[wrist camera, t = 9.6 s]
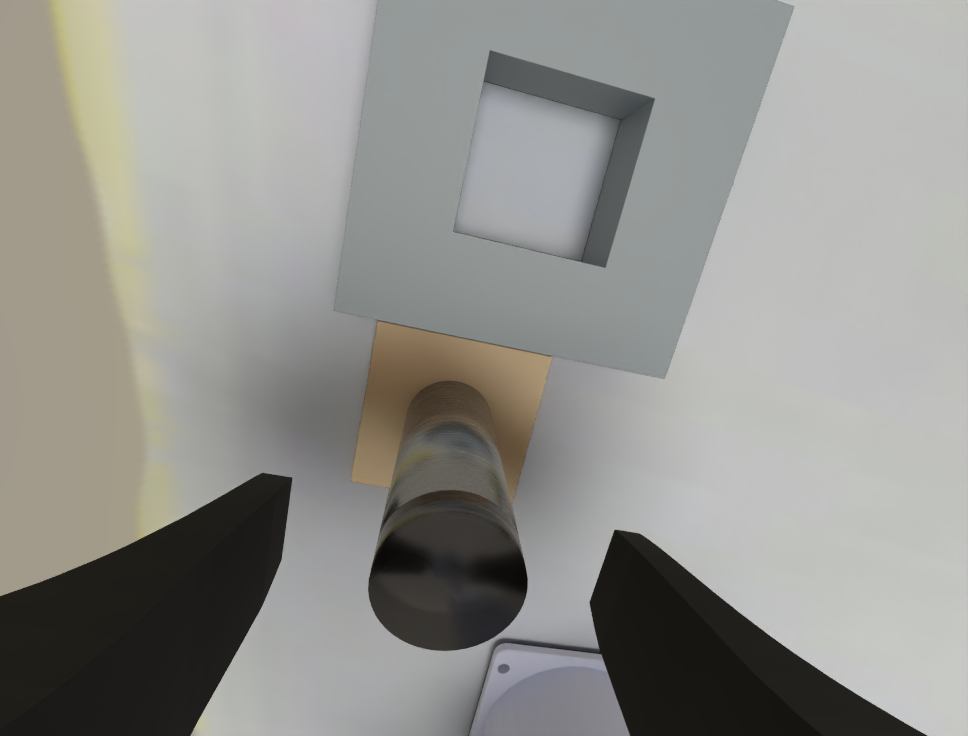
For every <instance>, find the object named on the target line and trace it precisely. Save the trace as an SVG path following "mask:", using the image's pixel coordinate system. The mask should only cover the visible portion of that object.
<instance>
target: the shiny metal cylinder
mask: <svg viewBox="0 0 968 736" xmlns="http://www.w3.org/2000/svg"><path fill="white" fill-rule="evenodd" d="M527 581H528V579H527V572H526V567H525V563H524V558H523V554H522V549H521V545H520V540H519V536H518V531H517V527H516V522H515V518H514V514H513V509H512V505H511V500H510V496H509V491H508V487H507V482H506V478H505V473H504V469H503V465H502V460H501V456H500V451H499V447H498V442H497V438H496V433H495V429H494V425H493V420H492V416H491V411H490V408H489V405H488V403H487V401H486V400H485V398H484V397H483V396H482V395H481V393H479V392H478V391H477V390H476V389H474V388H473V387H471V386H469V385H467V384H465V383H462V382H457V381H441V382H437V383H433V384H431V385H429V386H427V387H425V388H424V389H422V390H421V391H420V392H419V393H418V394H417V395H416V396H415V397H414V398H413V400H412V401H411V403H410V405H409V408H408V411H407V415H406V419H405V424H404V428H403V433H402V437H401V441H400V446H399V450H398V454H397V459H396V463H395V468H394V472H393V476H392V481H391V485H390V490H389V494H388V498H387V503H386V507H385V511H384V516H383V520H382V525H381V529H380V533H379V538H378V542H377V547H376V551H375V555H374V560H373V564H372V568H371V573H370V578H369V587H368V591H369V599H370V602H371V606H372V608H373V611H374V613H375V615H376V616H377V618H378V619H379V621H380V622H381V623H382V624H383V626H384V627H385V628H386V629H387V630H388V631H390V632H391V633H392V634H393V635H395V636H396V637H398V638H399V639H401V640H403V641H405V642H407V643H409V644H411V645H414V646H417V647H421V648H425V649H430V650H439V651H450V650H460V649H465V648H469V647H473V646H476V645H479V644H481V643H484V642H486V641H488V640H490V639H491V638H493V637H495V636H496V635H498V634H499V633H501V632H502V631H503V630H504V629H505V628H506V627H508V626H509V625H510V623H511V622H512V621H513V620H514V619H515V618H516V616H517V615H518V613H519V612H520V610H521V608H522V606H523V603H524V600H525V597H526V593H527Z"/></svg>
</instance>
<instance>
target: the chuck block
mask: <svg viewBox="0 0 968 736" xmlns="http://www.w3.org/2000/svg"><path fill="white" fill-rule="evenodd" d="M794 7H795V6H792V5H789V4H786V3H783V2H780V1H777V0H378V2H377V9H376V16H375V23H374V30H373V37H372V44H371V51H370V58H369V65H368V72H367V79H366V86H365V93H364V100H363V107H362V114H361V122H360V129H359V136H358V143H357V150H356V157H355V164H354V171H353V178H352V185H351V192H350V199H349V206H348V213H347V220H346V227H345V234H344V241H343V248H342V255H341V262H340V269H339V276H338V284H337V291H336V298H335V305H334V311H337V312H342V313H347V314H352V315H357V316H362V317H367V318H371V319H376V320H381V321H386V322H391V323H396V324H400V325H405V326H410V327H415V328H420V329H425V330H429V331H434V332H439V333H444V334H449V335H454V336H458V337H463V338H468V339H473V340H478V341H483V342H487V343H492V344H497V345H502V346H507V347H512V348H516V349H521V350H526V351H531V352H536V353H541V354H545V355H550V356H555V357H560V358H565V359H570V360H574V361H579V362H584V363H589V364H594V365H599V366H603V367H608V368H613V369H618V370H623V371H628V372H632V373H637V374H642V375H647V376H652V377H657V378H661V379H665V377H666V374H667V371H668V368H669V365H670V362H671V359H672V357H673V354H674V351H675V348H676V345H677V342H678V339H679V336H680V334H681V331H682V328H683V325H684V322H685V319H686V316H687V314H688V311H689V308H690V305H691V302H692V299H693V296H694V293H695V291H696V288H697V285H698V282H699V279H700V276H701V273H702V271H703V268H704V265H705V262H706V259H707V256H708V253H709V250H710V248H711V245H712V242H713V239H714V236H715V233H716V230H717V227H718V225H719V222H720V219H721V216H722V213H723V210H724V207H725V205H726V202H727V199H728V196H729V193H730V190H731V187H732V184H733V182H734V179H735V176H736V173H737V170H738V167H739V164H740V162H741V159H742V156H743V153H744V150H745V147H746V144H747V141H748V139H749V136H750V133H751V130H752V127H753V124H754V121H755V118H756V116H757V113H758V110H759V107H760V104H761V101H762V98H763V96H764V93H765V90H766V87H767V84H768V81H769V78H770V75H771V73H772V70H773V67H774V64H775V61H776V58H777V55H778V53H779V50H780V47H781V44H782V41H783V38H784V35H785V32H786V30H787V27H788V24H789V21H790V18H791V15H792V12H793V9H794ZM483 81H486V82H490V83H493V84H497V85H500V86H504V87H507V88H511V89H514V90H518V91H522V92H525V93H529V94H532V95H536V96H539V97H543V98H546V99H550V100H553V101H557V102H560V103H564V104H568V105H571V106H575V107H578V108H582V109H585V110H589V111H592V112H596V113H599V114H603V115H607V116H610V117H614V118H617V119H621V122H620V126H619V129H618V133H617V136H616V140H615V144H614V147H613V151H612V154H611V158H610V162H609V165H608V169H607V172H606V176H605V179H604V183H603V187H602V190H601V194H600V197H599V201H598V205H597V208H596V212H595V215H594V219H593V223H592V226H591V230H590V233H589V237H588V241H587V244H586V248H585V251H584V255H583V259H582V262H580V261H576V260H572V259H568V258H563V257H559V256H555V255H551V254H546V253H542V252H538V251H534V250H530V249H525V248H521V247H517V246H513V245H508V244H504V243H500V242H496V241H491V240H487V239H483V238H479V237H475V236H470V235H466V234H462V233H458V232H453V229H454V224H455V219H456V214H457V209H458V204H459V200H460V195H461V190H462V185H463V180H464V175H465V170H466V165H467V160H468V155H469V150H470V145H471V140H472V135H473V130H474V125H475V120H476V115H477V111H478V106H479V101H480V96H481V91H482V86H483Z"/></svg>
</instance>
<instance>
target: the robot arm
mask: <svg viewBox="0 0 968 736" xmlns="http://www.w3.org/2000/svg"><path fill="white" fill-rule="evenodd" d="M291 484H292V478H291V477H285V476H278V475H272V474H266V473H261V474H259V475H258V476H256V477H254V478H252V479H250V480H249V481H247V482H245V483H243V484H242V485H240V486H238V487H236V488H235V489H233V490H231V491H230V492H228V493H226V494H224V495H223V496H221V497H219V498H217V499H216V500H214V501H212V502H210V503H208V504H207V505H205V506H203V507H201V508H199V509H198V510H196V511H194V512H192V513H190V514H189V515H187V516H185V517H183V518H181V519H179V520H177V521H175V522H173V523H171V524H169V525H167V526H165V527H163V528H161V529H159V530H157V531H155V532H153V533H151V534H149V535H147V536H145V537H143V538H141V539H139V540H137V541H135V542H133V543H131V544H129V545H127V546H126V547H123V548H121V549H119V550H117V551H114V552H112V553H110V554H108V555H106V556H103V557H101V558H99V559H96V560H94V561H92V562H89V563H87V564H84V565H82V566H79V567H77V568H75V569H72V570H70V571H67V572H65V573H62V574H60V575H58V576H55V577H52V578H50V579H47V580H45V581H42V582H40V583H37V584H34V585H31V586H28V587H26V588H23V589H20V590H17V591H14V592H11V593H8V594H5V595H3V596H0V736H190V735H191V733H192V731H193V729H194V727H195V726H196V724H197V722H198V720H199V718H200V716H201V715H202V713H203V711H204V709H205V707H206V706H207V704H208V702H209V700H210V699H211V697H212V695H213V693H214V691H215V690H216V688H217V686H218V684H219V683H220V681H221V679H222V677H223V675H224V674H225V672H226V670H227V668H228V667H229V665H230V663H231V661H232V659H233V658H234V656H235V654H236V652H237V651H238V649H239V647H240V645H241V643H242V642H243V640H244V638H245V636H246V634H247V633H248V631H249V629H250V627H251V625H252V624H253V622H254V620H255V618H256V616H257V615H258V613H259V611H260V609H261V607H262V605H263V603H264V601H265V598H266V596H267V594H268V591H269V589H270V587H271V584H272V582H273V579H274V577H275V574H276V572H277V569H278V567H279V565H280V562H281V559H282V552H283V544H284V537H285V529H286V522H287V514H288V507H289V499H290V491H291ZM590 607H591V612H592V617H593V622H594V627H595V632H596V636H597V640H598V645H599V649H600V652H601V654H594V653H586V652H578V651H569V650H561V649H553V648H544V647H536V646H528V645H519V644H511V643H503V644H500V645H499V646H497V647H496V648H495V650H494V653H493V656H492V659H491V663H490V666H489V670H488V673H487V676H486V680H485V683H484V687H483V690H482V694H481V697H480V700H479V704H478V707H477V711H476V714H475V717H474V721H473V724H472V728H471V731H470V734H469V736H927V735H925V734H923V733H921V732H920V731H918V730H916V729H914V728H913V727H911V726H909V725H907V724H905V723H904V722H902V721H900V720H899V719H897V718H895V717H894V716H892V715H890V714H889V713H887V712H885V711H884V710H882V709H880V708H879V707H877V706H875V705H874V704H872V703H870V702H869V701H867V700H865V699H863V698H862V697H860V696H858V695H857V694H855V693H854V692H852V691H851V690H849V689H847V688H846V687H844V686H843V685H841V684H839V683H838V682H836V681H835V680H833V679H832V678H830V677H829V676H827V675H826V674H824V673H823V672H821V671H820V670H818V669H817V668H815V667H814V666H812V665H811V664H809V663H808V662H806V661H805V660H803V659H802V658H800V657H799V656H797V655H796V654H794V653H793V652H792V651H790V650H789V649H787V648H786V647H785V646H783V645H782V644H780V643H779V642H778V641H776V640H775V639H773V638H772V637H771V636H769V635H768V634H767V633H765V632H764V631H763V630H761V629H760V628H759V627H757V626H756V625H755V624H754V623H752V622H751V621H750V620H748V619H747V618H746V617H744V616H743V615H742V614H740V613H739V612H738V611H737V610H735V609H734V608H733V607H731V606H730V605H729V604H728V603H726V602H725V601H724V600H723V599H721V598H720V597H719V596H718V595H716V594H715V593H714V592H713V591H712V590H710V589H709V588H708V587H707V586H705V585H704V584H703V583H702V582H701V581H699V580H698V579H697V578H696V577H695V576H693V575H692V574H691V573H690V572H688V571H687V570H686V569H685V568H684V567H682V566H681V565H680V564H679V563H678V562H676V561H675V560H674V559H673V558H671V557H670V556H669V555H668V554H667V553H665V552H664V551H663V550H662V549H660V548H659V547H658V546H656V545H655V544H654V543H652V542H651V541H650V540H648V539H647V538H645V537H644V536H642V535H641V534H639V533H633V532H626V531H620V530H614V533H613V536H612V539H611V542H610V545H609V548H608V551H607V554H606V556H605V559H604V562H603V565H602V568H601V571H600V574H599V577H598V580H597V583H596V585H595V588H594V591H593V594H592V597H591V600H590ZM501 664H505V665H501Z"/></svg>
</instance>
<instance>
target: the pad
mask: <svg viewBox="0 0 968 736" xmlns="http://www.w3.org/2000/svg"><path fill="white" fill-rule="evenodd" d="M551 361H552V356H550V355H545V354H541V353H536V352H531V351H526V350H521V349H516V348H512V347H507V346H502V345H497V344H492V343H487V342H483V341H478V340H473V339H468V338H463V337H458V336H454V335H449V334H444V333H439V332H434V331H429V330H425V329H420V328H415V327H410V326H405V325H400V324H396V323H391V322H386V321H381V320H378V322H377V328H376V334H375V340H374V346H373V351H372V357H371V363H370V369H369V375H368V381H367V387H366V393H365V399H364V405H363V411H362V417H361V423H360V429H359V435H358V440H357V446H356V452H355V458H354V464H353V470H352V476H351V482H357V483H363V484H369V485H375V486H382V487H388V488H390V485H391V481H392V476H393V472H394V468H395V463H396V459H397V454H398V450H399V446H400V441H401V437H402V433H403V428H404V424H405V419H406V415H407V411H408V408H409V405H410V403H411V401H412V400H413V398H414V397H415V396H416V395H417V394H418V393H419V392H420V391H421V390H422V389H424V388H425V387H427V386H429V385H431V384H433V383H437V382H441V381H457V382H462V383H465V384H467V385H469V386H471V387H473V388H474V389H476V390H477V391H478V392H479V393H481V395H482V396H483V397H484V398H485V400H486V401H487V403H488V405H489V408H490V411H491V416H492V420H493V425H494V429H495V433H496V438H497V442H498V447H499V451H500V456H501V460H502V465H503V469H504V473H505V478H506V482H507V487H508V491H509V496H510V500H511V505H512V502H513V498H514V495H515V491H516V487H517V484H518V480H519V477H520V473H521V469H522V466H523V462H524V458H525V455H526V451H527V448H528V444H529V440H530V437H531V433H532V430H533V426H534V422H535V419H536V415H537V412H538V408H539V404H540V401H541V397H542V393H543V390H544V386H545V383H546V379H547V375H548V372H549V368H550V365H551Z"/></svg>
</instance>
